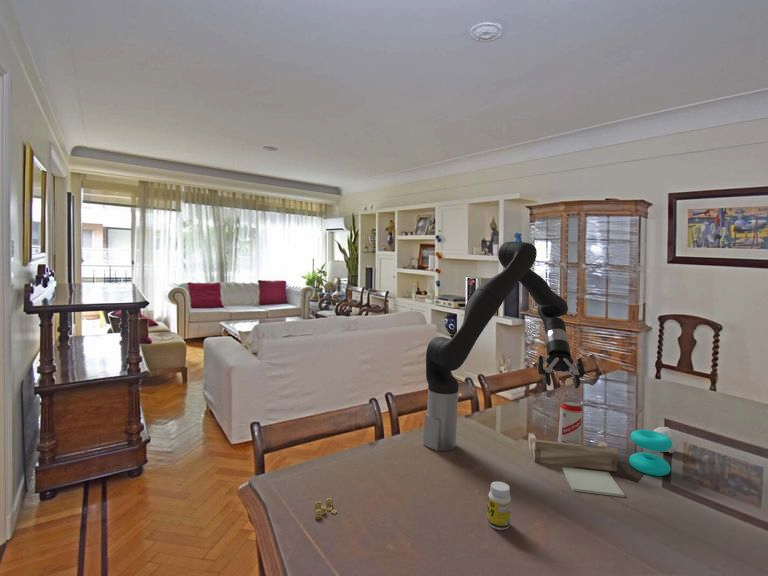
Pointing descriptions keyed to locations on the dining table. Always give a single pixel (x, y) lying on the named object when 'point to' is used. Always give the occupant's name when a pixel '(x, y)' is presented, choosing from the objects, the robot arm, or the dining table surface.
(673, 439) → the geometric ball
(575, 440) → the beer can
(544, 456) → the birch bay
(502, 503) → the supplement bottle
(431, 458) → the dining table surface
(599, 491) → the sage tile
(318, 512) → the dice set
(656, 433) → the donuts
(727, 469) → the dining table surface
